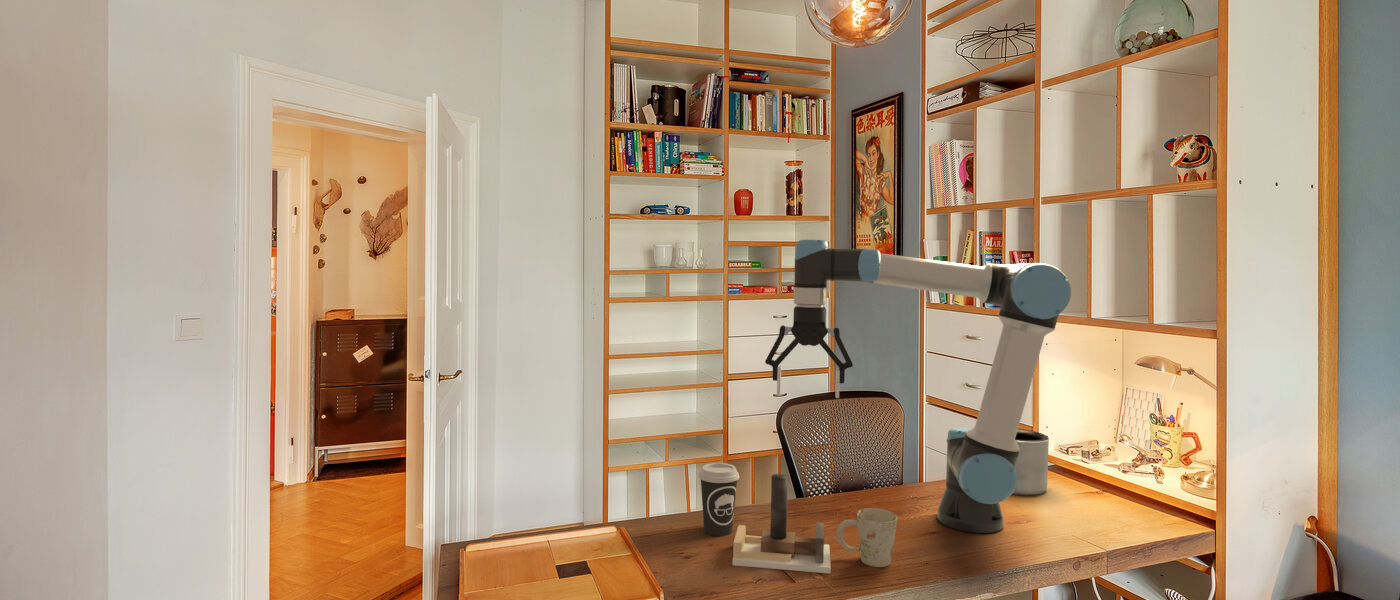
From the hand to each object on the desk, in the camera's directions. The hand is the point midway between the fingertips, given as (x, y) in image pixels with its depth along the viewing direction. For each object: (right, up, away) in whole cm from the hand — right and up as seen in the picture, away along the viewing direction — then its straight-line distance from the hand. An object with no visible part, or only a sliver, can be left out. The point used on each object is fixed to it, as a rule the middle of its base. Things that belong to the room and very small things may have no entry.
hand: (807, 395), depth 165 cm
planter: (+65, -31, +35) cm, 80 cm away
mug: (+10, -33, -16) cm, 38 cm away
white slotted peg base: (-8, -32, -15) cm, 37 cm away
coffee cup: (-21, -32, -1) cm, 38 cm away
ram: (-6, -31, -16) cm, 35 cm away
